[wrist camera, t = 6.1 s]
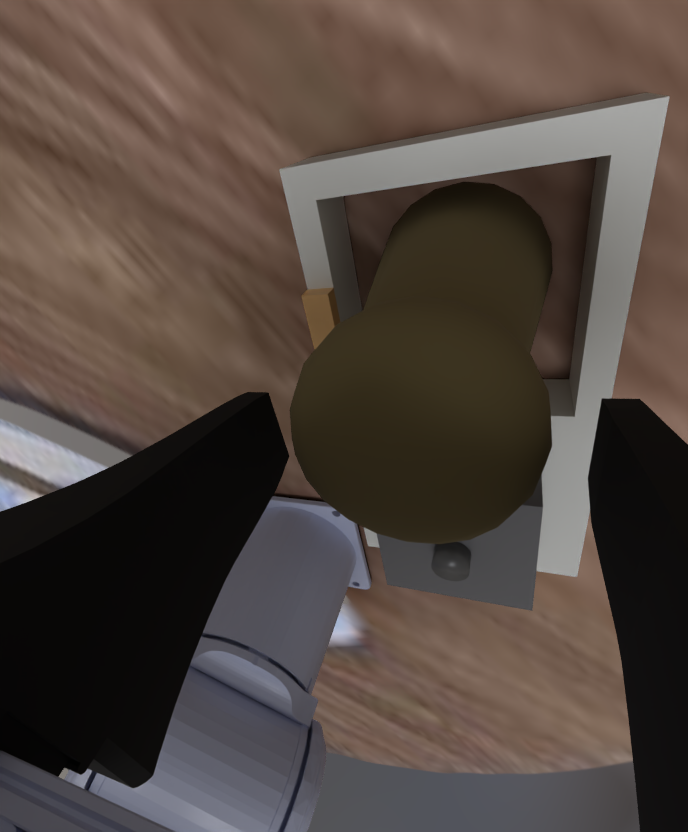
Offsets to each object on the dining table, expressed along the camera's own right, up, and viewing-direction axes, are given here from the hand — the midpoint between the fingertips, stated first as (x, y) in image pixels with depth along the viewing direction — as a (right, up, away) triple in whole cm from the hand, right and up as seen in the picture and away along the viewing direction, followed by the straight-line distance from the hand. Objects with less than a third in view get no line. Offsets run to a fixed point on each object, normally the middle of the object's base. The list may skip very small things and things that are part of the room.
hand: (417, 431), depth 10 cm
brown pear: (+3, +6, +6) cm, 9 cm away
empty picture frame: (+3, +2, +9) cm, 10 cm away
